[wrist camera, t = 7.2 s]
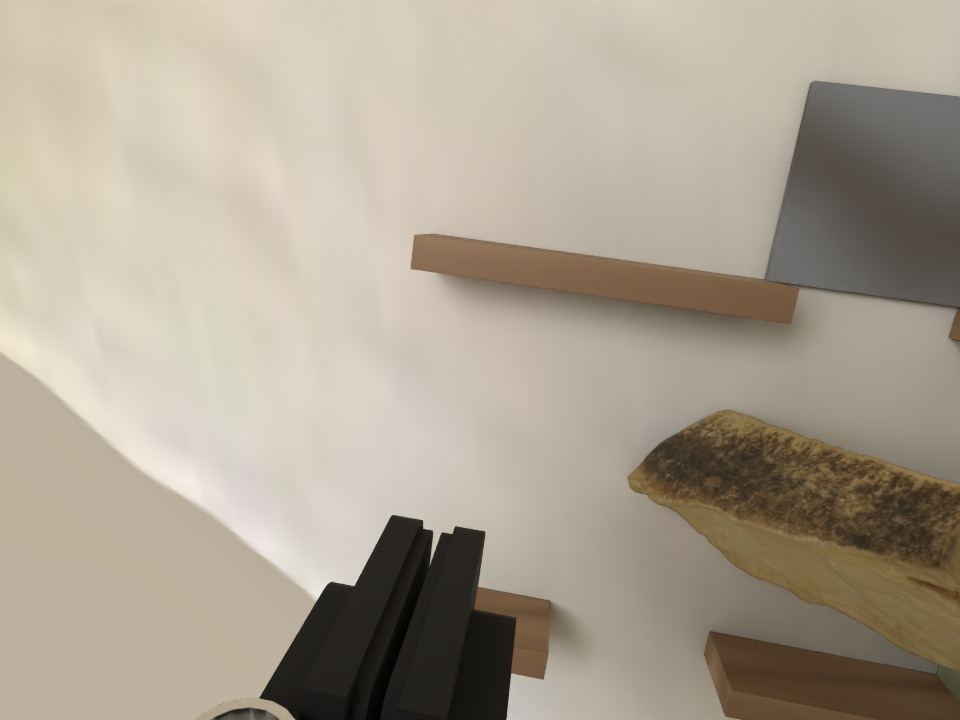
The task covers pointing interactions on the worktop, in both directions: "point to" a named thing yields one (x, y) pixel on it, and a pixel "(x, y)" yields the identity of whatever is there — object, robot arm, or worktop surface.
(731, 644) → the box
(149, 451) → the worktop surface
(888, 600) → the rock
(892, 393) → the worktop surface
